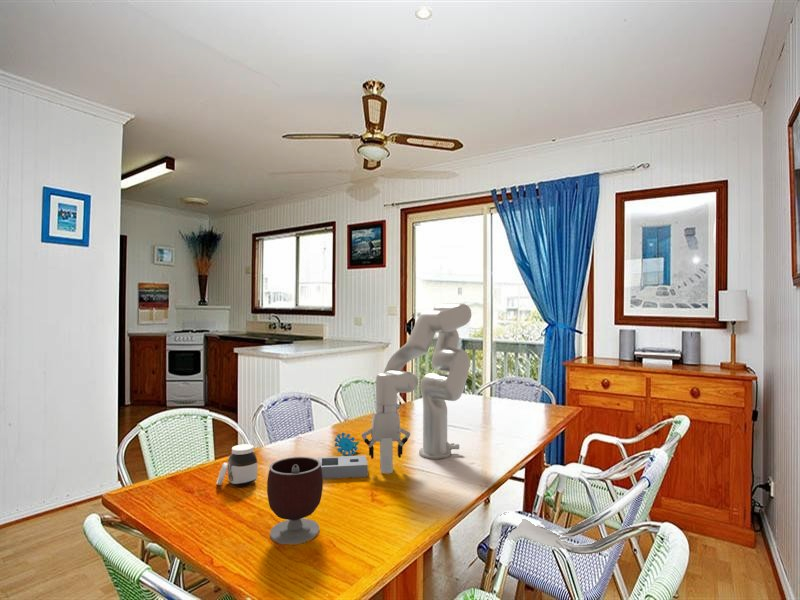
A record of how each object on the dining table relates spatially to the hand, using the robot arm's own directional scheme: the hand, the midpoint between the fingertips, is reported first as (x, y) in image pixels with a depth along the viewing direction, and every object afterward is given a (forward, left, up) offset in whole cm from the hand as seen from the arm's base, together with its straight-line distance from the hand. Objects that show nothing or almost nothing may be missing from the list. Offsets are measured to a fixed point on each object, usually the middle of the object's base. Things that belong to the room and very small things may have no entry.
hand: (385, 457), depth 159 cm
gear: (+13, -21, -5) cm, 25 cm away
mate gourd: (+28, +41, -5) cm, 50 cm away
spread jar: (+50, +5, -5) cm, 50 cm away
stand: (+15, 0, -5) cm, 16 cm away
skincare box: (0, 0, -5) cm, 5 cm away
